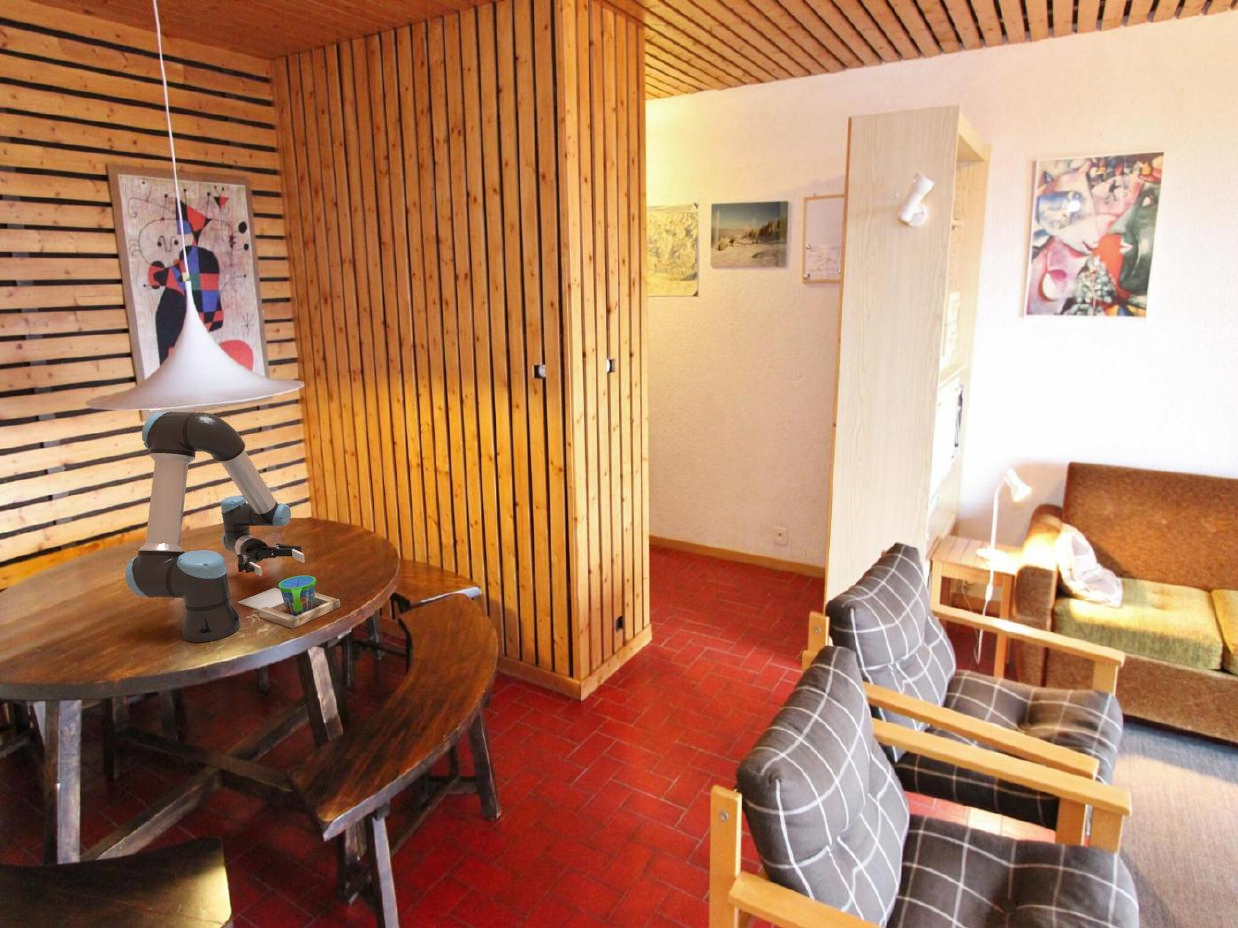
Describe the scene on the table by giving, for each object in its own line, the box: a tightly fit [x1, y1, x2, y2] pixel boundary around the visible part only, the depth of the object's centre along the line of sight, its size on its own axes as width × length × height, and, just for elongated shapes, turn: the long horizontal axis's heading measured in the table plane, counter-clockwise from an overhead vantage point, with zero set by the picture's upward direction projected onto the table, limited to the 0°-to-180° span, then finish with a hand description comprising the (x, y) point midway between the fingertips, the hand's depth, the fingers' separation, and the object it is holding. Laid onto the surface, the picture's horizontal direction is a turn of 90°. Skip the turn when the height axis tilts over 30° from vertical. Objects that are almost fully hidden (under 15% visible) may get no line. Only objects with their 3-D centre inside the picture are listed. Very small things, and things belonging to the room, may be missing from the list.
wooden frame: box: [258, 592, 341, 629], centre depth 230 cm, size 17×16×2 cm
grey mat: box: [237, 587, 285, 611], centre depth 240 cm, size 13×13×1 cm
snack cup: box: [278, 574, 317, 616], centre depth 229 cm, size 16×10×10 cm
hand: (282, 564), depth 234 cm, fingers open, 13 cm apart
